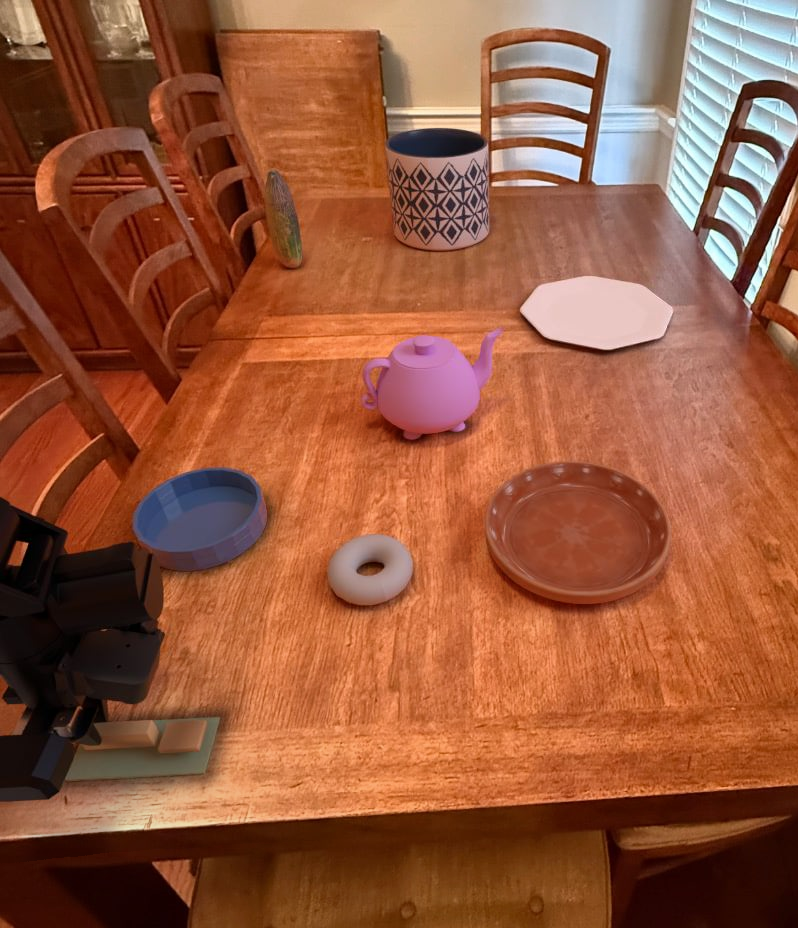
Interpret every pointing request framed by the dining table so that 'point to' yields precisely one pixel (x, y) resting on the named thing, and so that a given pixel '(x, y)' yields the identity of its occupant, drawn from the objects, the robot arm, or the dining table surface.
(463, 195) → the planter
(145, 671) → the robot arm
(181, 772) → the mat
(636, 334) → the plate
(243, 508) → the bowl
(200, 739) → the beige slabs
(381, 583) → the donut
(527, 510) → the saucer
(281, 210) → the vegetable
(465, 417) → the teapot
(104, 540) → the dining table surface
